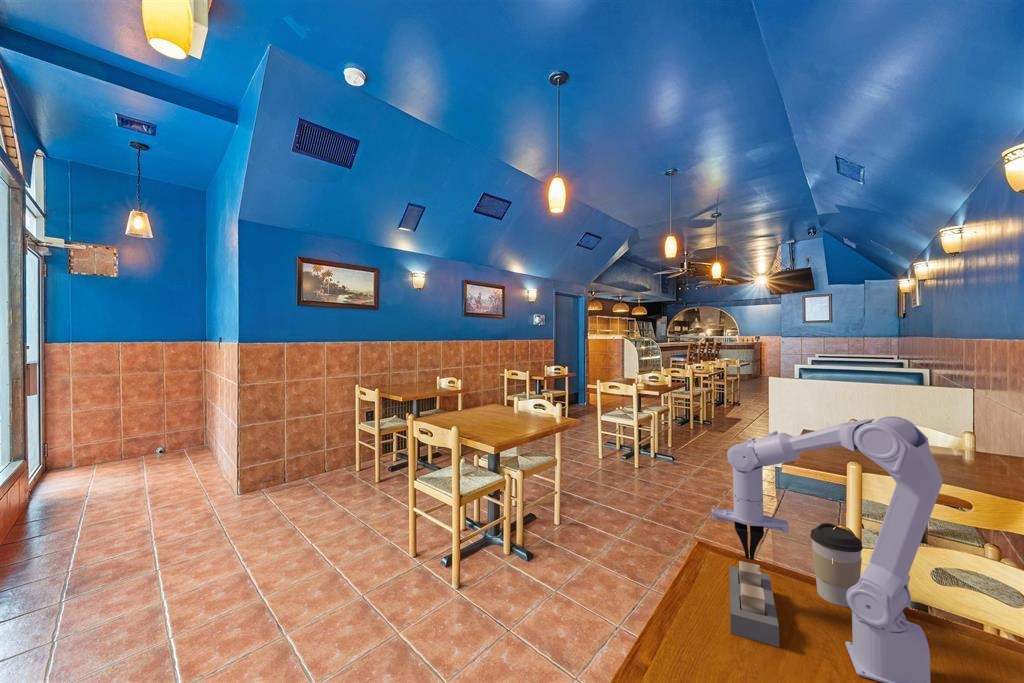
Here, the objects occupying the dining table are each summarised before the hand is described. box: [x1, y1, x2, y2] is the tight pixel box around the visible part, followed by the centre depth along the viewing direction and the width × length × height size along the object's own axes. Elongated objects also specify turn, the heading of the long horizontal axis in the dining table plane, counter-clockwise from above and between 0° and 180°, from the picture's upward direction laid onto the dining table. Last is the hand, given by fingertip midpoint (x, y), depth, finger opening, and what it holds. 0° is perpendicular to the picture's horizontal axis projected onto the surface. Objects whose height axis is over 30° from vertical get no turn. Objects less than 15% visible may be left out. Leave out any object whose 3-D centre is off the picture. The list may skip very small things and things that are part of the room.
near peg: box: [741, 583, 765, 616], centre depth 80 cm, size 4×4×4 cm
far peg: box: [738, 560, 762, 588], centre depth 88 cm, size 4×4×4 cm
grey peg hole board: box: [729, 565, 780, 648], centre depth 84 cm, size 8×18×4 cm, turn 152°
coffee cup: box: [809, 522, 864, 608], centre depth 88 cm, size 9×9×15 cm
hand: (749, 556), depth 88 cm, fingers closed
